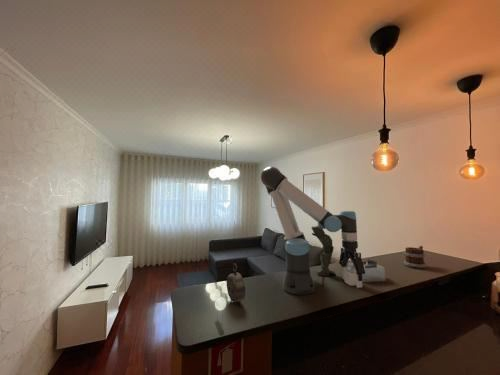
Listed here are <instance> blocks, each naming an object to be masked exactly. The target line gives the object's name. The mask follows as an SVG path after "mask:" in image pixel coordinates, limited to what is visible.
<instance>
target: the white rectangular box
mask: <svg viewBox="0 0 500 375" xmlns="http://www.w3.org/2000/svg"><path fill="white" fill-rule="evenodd" d="M362 262H363V266H364V270H365V274H362V283H370V282H373V283H374V282H384V281H386V270H385V267H384V266H382V265H379V264H378V263H377V261H376V260H374V259H371V258H367V260H366V261H365V260H364V261H363V260H362ZM352 265H353V262H348V263H347V267H352Z"/></svg>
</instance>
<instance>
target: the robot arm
mask: <svg viewBox="0 0 500 375" xmlns="http://www.w3.org/2000/svg"><path fill="white" fill-rule="evenodd" d="M260 181H261V183H262V184H263V185H264V186H265V189H266V192H267V195H269V196H270V197H272V201H273V204H274V206H275V210H276V212H277V216H278V218H279V221H280V224H281V227H282V231H283V232H284V237H283V241H284V243H285V244H284V246H285V247H284V249H285V275H284V278H283V281H282V289H283V291H284V292H287V293H288V294H293V295H298V296H299V295H300V296H306V295H310V294H312V293H315V284H314V281H313V278H312V275H311V259H310V258H311V256H310V243H309V242H308V240H307V239H306V237H305V234H304V232H302V231H301V230H300V227H299V224H298V222H297V219H296V217H295V214H294V212H293V209H292V205H291V203H293V204H294V205H295V206H296V207H297V208H299V209H300V210H302V212H304V213H306V214H307V216H308V217H311V218H312V220H314V221H316V222H317V225H318V227H319V228H321V229H323V230H326V231H327V232H330V233H337V232H339V231H340V230H341V239H342V240H341V246H342V247H340V254H339V256H340V257H339V262H338V264H339V265H340V266H341V271H342V274H341V275H342V280H345V279H344V270H347V267H348V263H349V259H350V261H351V263H353V265H354V267H355V270H356V272H357V273H356V285H355V287H356V289H359V288H363V282H362V274H365V270H364V266H363V259H362V253H361V252H357V249H358V248H359V242H358V230H357V229H358V226H357V224H358V223H357V214H356V212H355V211H354V210H352V211H351V210H341V211H340V213H339V214H333V213H332V212H330V211H329V210H327V209H326V208H325V207H323V206H322V205H321V204H320V203H319V202H317V201H316V200H315V199H313V198H311V197H310V196H309V195H308V194H306V193H305V192H304V191H302V190H301V189H300V188H298V187H297V186H296V185H294V184H293V183H292V182H291V181H289V179H288V177H287V176H286V175H284V174H283V173H282V172H281V171H280V170H279V169H278V168H277V167H275V166H268V167H266V168H264V169H263V170H262V171H261V173H260ZM290 202H291V203H290Z"/></svg>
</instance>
